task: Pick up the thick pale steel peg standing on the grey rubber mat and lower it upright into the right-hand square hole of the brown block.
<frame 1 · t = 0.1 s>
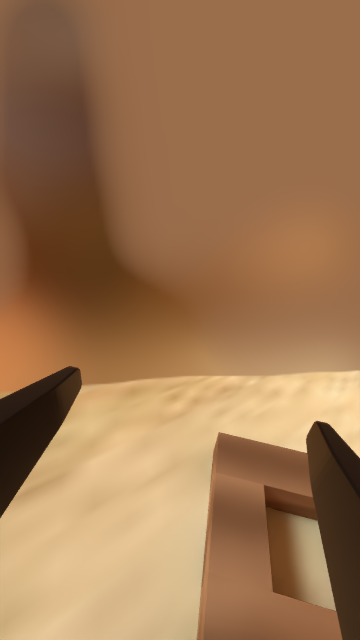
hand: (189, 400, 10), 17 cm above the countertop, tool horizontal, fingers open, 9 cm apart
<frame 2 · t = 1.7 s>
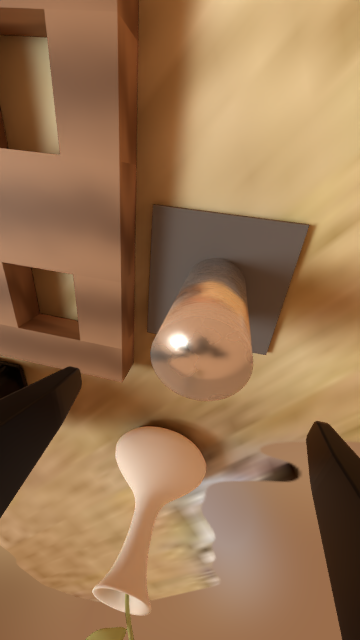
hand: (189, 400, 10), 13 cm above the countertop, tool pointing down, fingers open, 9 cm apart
rubber mat: (215, 285, 21), on the countertop
steel peg: (215, 287, 20), resting on rubber mat
hole block: (53, 211, 21), on the countertop
flower in vase: (169, 449, 33), on the countertop
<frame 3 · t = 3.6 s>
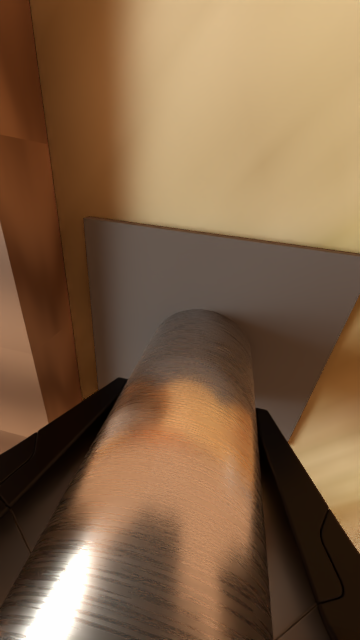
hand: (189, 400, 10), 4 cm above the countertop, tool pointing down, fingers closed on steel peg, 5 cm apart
rubber mat: (201, 348, 13), on the countertop
steel peg: (199, 354, 12), point 1 cm above the countertop, touching gripper, rubber mat
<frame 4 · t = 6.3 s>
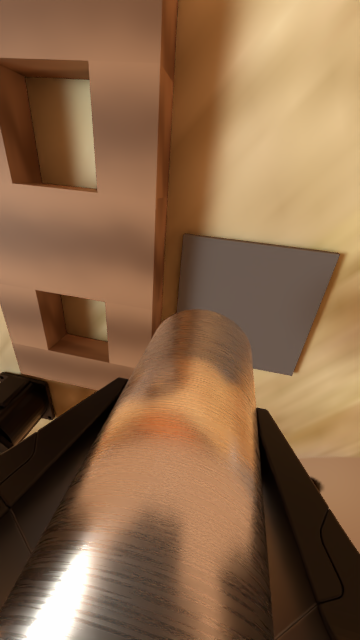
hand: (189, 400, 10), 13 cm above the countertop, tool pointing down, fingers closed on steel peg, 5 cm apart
rubber mat: (242, 309, 21), on the countertop
steel peg: (200, 354, 12), point 10 cm above the countertop, touching gripper
hole block: (84, 239, 21), on the countertop
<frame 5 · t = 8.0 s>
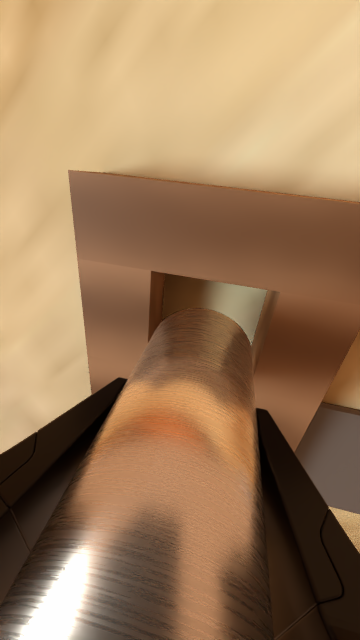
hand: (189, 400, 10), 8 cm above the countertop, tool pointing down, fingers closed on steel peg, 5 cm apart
steel peg: (199, 353, 12), point 5 cm above the countertop, touching gripper
hole block: (195, 390, 20), on the countertop
when the fingers open (5 cm above the countertop, at t = 9.3 s): steel peg drops 2 cm, resting in hole block.
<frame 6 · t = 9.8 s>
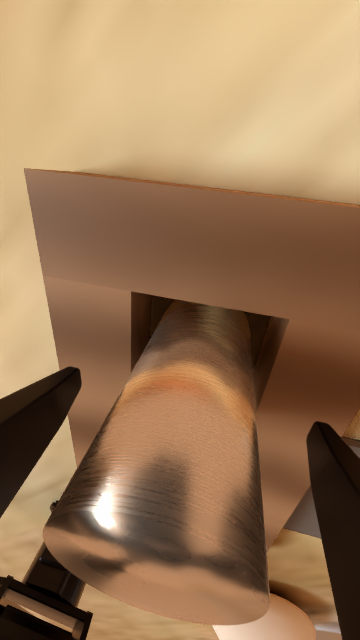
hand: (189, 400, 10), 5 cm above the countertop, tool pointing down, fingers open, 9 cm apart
steel peg: (204, 332, 14), resting in hole block
hole block: (189, 418, 17), on the countertop
flower in vase: (264, 597, 29), on the countertop
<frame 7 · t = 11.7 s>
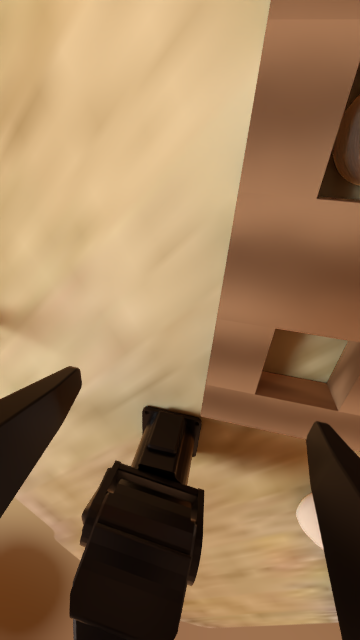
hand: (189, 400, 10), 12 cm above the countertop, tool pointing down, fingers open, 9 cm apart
hole block: (333, 264, 17), on the countertop
flower in vase: (353, 503, 29), on the countertop
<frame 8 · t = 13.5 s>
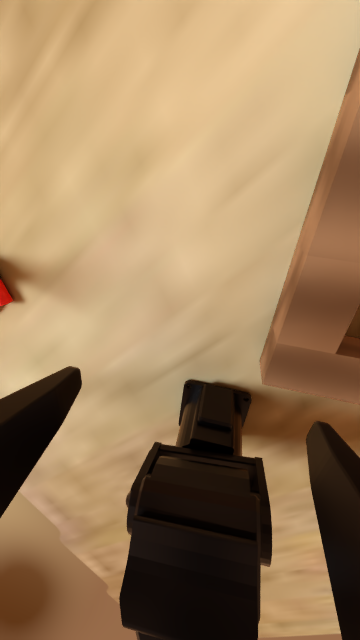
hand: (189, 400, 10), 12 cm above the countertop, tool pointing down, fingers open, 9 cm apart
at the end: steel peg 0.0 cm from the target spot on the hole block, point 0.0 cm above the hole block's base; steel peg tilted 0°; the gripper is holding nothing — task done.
